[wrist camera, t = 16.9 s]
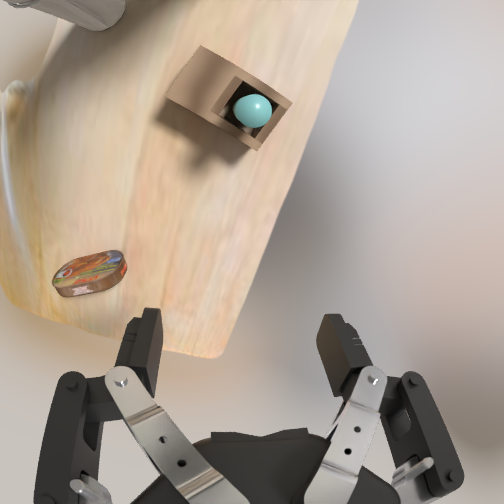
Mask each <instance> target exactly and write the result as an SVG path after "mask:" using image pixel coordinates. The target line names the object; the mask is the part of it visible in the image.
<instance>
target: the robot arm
mask: <svg viewBox="0 0 504 504" xmlns="http://www.w3.org/2000/svg"><path fill="white" fill-rule="evenodd" d="M316 342H317V348H318V351H319V354H320V357H321V360H322V363H323V365H324V368H325V371H326V374H327V377H328V380H329V383H330V386H331V389H332V392H333V395H334V397H338V396H342V397H343V402H342V403H341V405H340V407H339V409H338V411H337V414H336V416H335V418H334V420H333V422H332V424H331V426H330V428H329V430H328V431H327V433H326V435H325V436H324V438H323V437H320V436H317V435H314V434H308V430H307V428H299V429H290V430H283V431H280V432H276V433H273V434H270V435H266V436H263V437H258V436H253V435H247V434H242V433H237V432H211V438H207V439H203V440H200V441H198V442H196V443H194V444H191V443H190V442H189V441H188V439H187V438H186V437H185V436H184V435H183V433H182V432H181V431H180V430H179V428H178V427H177V426H176V425H175V423H174V422H173V421H172V419H171V418H170V417H169V416H168V414H167V413H166V412H165V410H164V409H163V408H162V407H160V406H157V404H156V403H155V402H154V400H153V399H152V398H154V396H155V389H156V382H157V375H158V369H159V363H160V356H161V351H162V345H163V327H162V318H161V310H160V309H158V308H144V311H143V314H142V318H136V317H134V318H133V319H132V320H131V321H130V322H129V323H128V324H127V327H126V330H125V334H124V337H123V341H122V343H121V346H120V350H119V353H118V356H117V360H116V363H115V366H114V368H112V369H110V370H109V371H108V372H107V374H106V375H104V376H101V377H96V378H85V377H84V376H83V375H82V374H81V373H79V372H74V371H71V372H67V373H65V374H63V375H62V376H61V377H60V379H59V381H58V384H57V387H56V390H55V394H54V397H53V401H52V404H51V408H50V412H49V416H48V420H47V424H46V428H45V432H44V437H43V441H42V446H41V451H40V457H39V462H38V469H37V475H36V482H35V490H34V504H112V500H111V495H110V493H109V491H108V490H107V489H106V488H105V487H104V486H103V485H101V484H100V483H99V482H98V469H99V458H100V448H101V440H102V432H103V424H104V422H105V421H113V420H120V419H123V421H124V422H125V424H126V426H127V427H128V429H129V430H130V432H131V433H132V435H133V436H134V438H135V440H136V441H137V443H138V444H139V446H140V447H141V449H142V450H143V451H144V453H145V455H146V456H147V458H148V459H149V460H150V462H151V463H152V465H153V466H154V467H155V469H156V470H157V471H158V473H159V474H160V476H159V477H158V478H157V479H156V480H155V481H154V482H153V483H152V484H151V485H150V486H149V487H147V488H146V490H144V491H143V492H142V493H141V494H140V495H139V496H138V497H137V498H136V499H135V500H134V501H133V502H131V503H130V504H429V503H431V502H433V501H436V500H438V499H439V498H442V497H443V496H445V495H447V494H449V493H451V492H453V491H455V490H456V489H458V488H459V487H460V486H461V485H462V483H463V481H464V472H463V469H462V466H461V463H460V461H459V458H458V455H457V453H456V451H455V448H454V445H453V443H452V440H451V438H450V436H449V433H448V431H447V428H446V426H445V424H444V421H443V419H442V417H441V415H440V412H439V410H438V408H437V406H436V404H435V401H434V399H433V397H432V395H431V393H430V391H429V389H428V387H427V385H426V383H425V380H424V379H423V378H422V376H421V375H419V374H418V373H416V372H412V371H409V372H406V373H405V374H404V375H403V376H402V377H401V378H398V377H390V376H386V374H385V372H384V371H383V370H382V369H380V368H378V367H376V366H373V364H372V362H371V360H370V358H369V356H368V353H367V351H366V349H365V347H364V345H362V341H361V339H359V335H358V334H357V331H356V330H355V329H354V328H353V327H352V326H351V325H350V324H349V323H345V322H344V320H343V318H342V316H341V315H340V314H325V315H324V317H323V320H322V323H321V326H320V329H319V332H318V334H317V339H316ZM406 411H407V412H406ZM407 413H408V415H407ZM408 416H409V417H408ZM379 418H380V419H381V422H382V425H383V428H384V431H385V434H386V437H387V441H388V444H389V447H390V450H391V453H392V457H393V460H394V463H395V467H396V470H395V472H394V474H393V480H392V483H391V485H390V484H389V483H387V482H385V481H384V480H383V479H381V478H380V477H378V476H377V475H375V474H374V473H373V472H371V471H370V470H368V469H367V468H365V467H364V466H363V465H362V464H363V461H364V458H365V456H366V454H367V451H368V449H369V446H370V443H371V441H372V438H373V436H374V433H375V429H376V427H377V424H378V421H379ZM409 419H410V420H409ZM410 421H411V422H410Z"/></svg>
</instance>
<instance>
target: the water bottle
mask: <svg viewBox="0 0 504 504" xmlns="http://www.w3.org/2000/svg"><path fill="white" fill-rule="evenodd" d="M4 1H6V2H8V3H9V5H11V6H13V7H15V8H26V7H31V8H34V9H37V10H40V11H43V12H46V13H49V14H51V15H54V16H56V17H59V18H62V19H64V20H67V21H69V22H72V23H74V24H76V25H79V26H81V27H83V28H86V29H88V30H90V31H103V30H105V29H107V28H110V27H112V26H113V25H114V24H115V23H116V22H117V21H118V20H119V19H120V18H121V17H122V15H123V13H124V10H125V8H126V5H125V0H4ZM14 3H15V4H14ZM16 3H19V4H21V5H17V4H16Z"/></svg>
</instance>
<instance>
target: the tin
mask: <svg viewBox="0 0 504 504" xmlns="http://www.w3.org/2000/svg"><path fill="white" fill-rule="evenodd" d="M126 271H127V264H126V261H125V259H124V256H123V253H122V252H120V251H118V250H110V251H106V252H101V253H97V254H93V255H89V256H85V257H81V258H77V259H74V260H72V261H70V262H68V263H67V264H65V265H64V266H63V267H61V268H60V269H59V270H58V271H57V273H56V274H55V275H54V277H53V280H52V284H53V286H54V287H55V288H56V290H57V291H58V293H59V294H60V295H61V296H62V297H73V296H79V295H85V294H90V293H95V292H101V291H105V290H107V289H110V288H112V287H113V286H115V285H116V284H118V283H119V282H120V281H121V280H122V279H123V277H124V275H125V273H126Z"/></svg>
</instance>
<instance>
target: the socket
mask: <svg viewBox="0 0 504 504" xmlns="http://www.w3.org/2000/svg"><path fill="white" fill-rule="evenodd" d="M240 84H243V85H244V86H246V87H248V88H249V89H251V90H252V91H254V92H255V93H257V94H258V95H261V96H263V97H265V98H266V99H267V100H268V101H269V102H270V103H272V104H273V106H272V107H271V108H272V114H271V117H270V119H269V121H268V122H267V123H266V124H264V125H263V126H261V127H256V129H255V130H254V131H253V133H252V134H251V135H250V134H249V133H247V132H246V131H244V130H243V129H241V128H239V127H238V126H236V125H235V124H233V123H231V122H230V121H228V120H227V119H225V118H223V117H222V116H220V115H219V113H220V112H221V110H222V109H223V107H224V106H225V105H226V103H227V102H228V100H229V99H230V98H231V96H232V95H233V93H234V92H235V91H236V89H237V88H238V87H239V85H240ZM165 97H167V98H169V99H170V100H172V101H174V102H176V103H178V104H180V105H181V106H183V107H185V108H187V109H188V110H190V111H192V112H194V113H195V114H197V115H199V116H201V117H202V118H204V119H206V120H207V121H209V122H211V123H212V124H214V125H216V126H217V127H219V128H221V129H222V130H224V131H226V132H227V133H229V134H231V135H232V136H234V137H235V138H237V139H238V140H240V141H242V142H243V143H245V144H246V145H248V146H249V147H251V148H253V149H254V150H256V151H258V149H259V148H260V146H261V145H262V144H263V142H264V141H265V140H266V138H267V137H268V135H269V134H270V133H271V131H272V130H273V129H274V127H275V126H276V125H277V123H278V122H279V120H280V119H281V118H282V116H283V115H284V114H285V112H286V111H287V110H288V109H289V107H290V106H291V105H292V102H291V101H289V100H288V99H287V98H285V97H284V96H282V95H281V94H279V93H278V92H277V91H275V90H274V89H272V88H271V87H269V86H268V85H266V84H265V83H263V82H262V81H260V80H259V79H257V78H256V77H254V76H252V75H251V74H249V73H248V72H246V71H244V70H243V69H241V68H240V67H238V66H236V65H235V64H233V63H231V62H230V61H228V60H226V59H224V58H223V57H221V56H219V55H217V54H216V53H214V52H212V51H210V50H208V49H206V48H205V47H203V46H201V45H200V46H199V48H198V49H197V50H196V52H195V53H194V54H193V56H192V57H191V59H190V60H189V61H188V63H187V64H186V65H185V67H184V68H183V70H182V71H181V73H180V74H179V76H178V77H177V78H176V80H175V81H174V83H173V84H172V86H171V87H170V89H169V91H168V92H167V94H166V95H165Z"/></svg>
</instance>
